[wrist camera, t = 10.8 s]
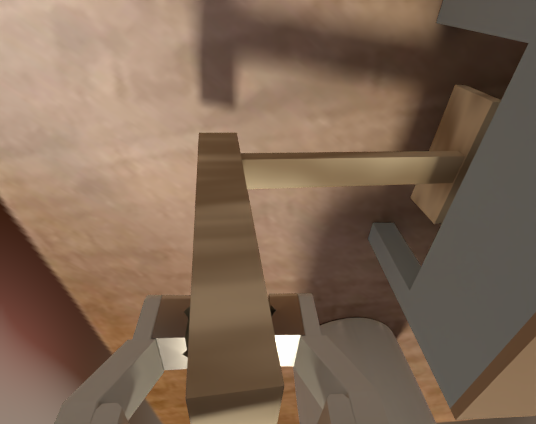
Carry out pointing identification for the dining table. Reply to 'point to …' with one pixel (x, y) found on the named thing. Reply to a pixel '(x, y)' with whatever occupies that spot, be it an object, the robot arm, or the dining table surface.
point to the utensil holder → (371, 371)
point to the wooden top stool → (481, 246)
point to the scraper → (248, 258)
